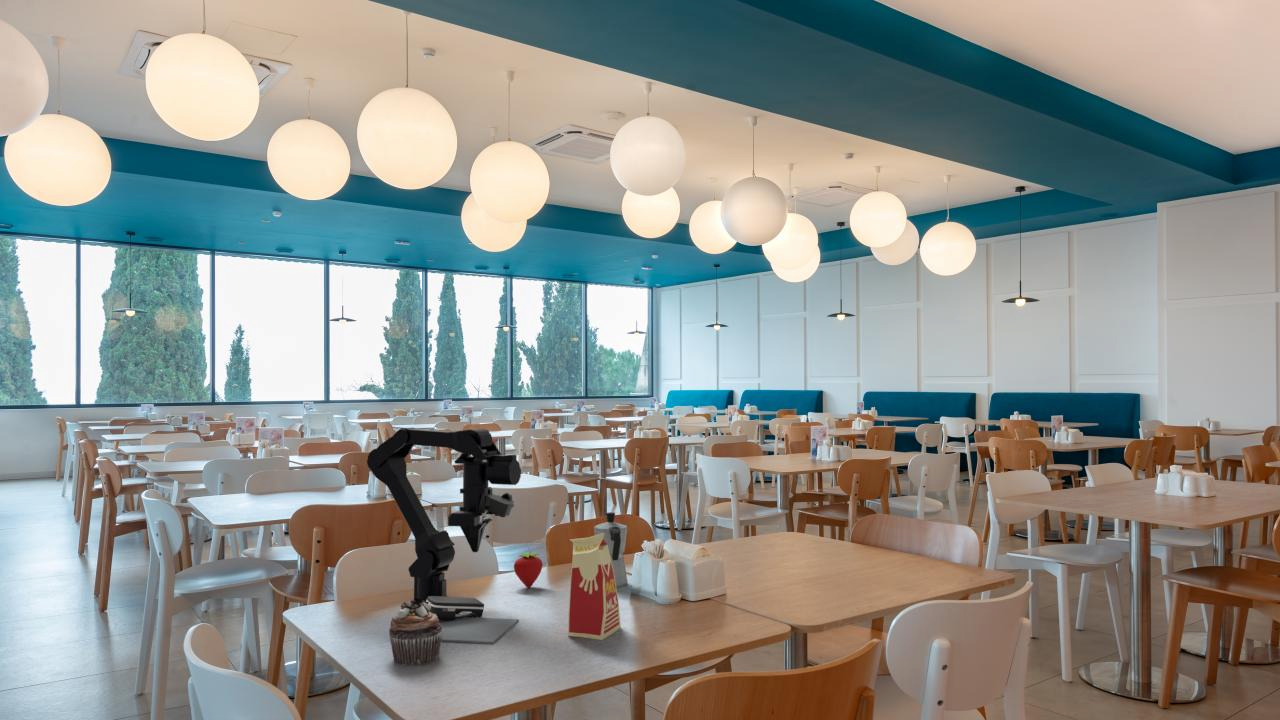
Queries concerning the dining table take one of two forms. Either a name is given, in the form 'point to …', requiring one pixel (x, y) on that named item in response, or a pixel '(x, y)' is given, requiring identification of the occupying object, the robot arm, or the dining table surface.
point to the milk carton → (592, 590)
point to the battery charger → (454, 606)
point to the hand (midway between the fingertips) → (475, 552)
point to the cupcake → (415, 635)
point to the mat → (475, 629)
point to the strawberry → (528, 568)
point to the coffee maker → (615, 546)
